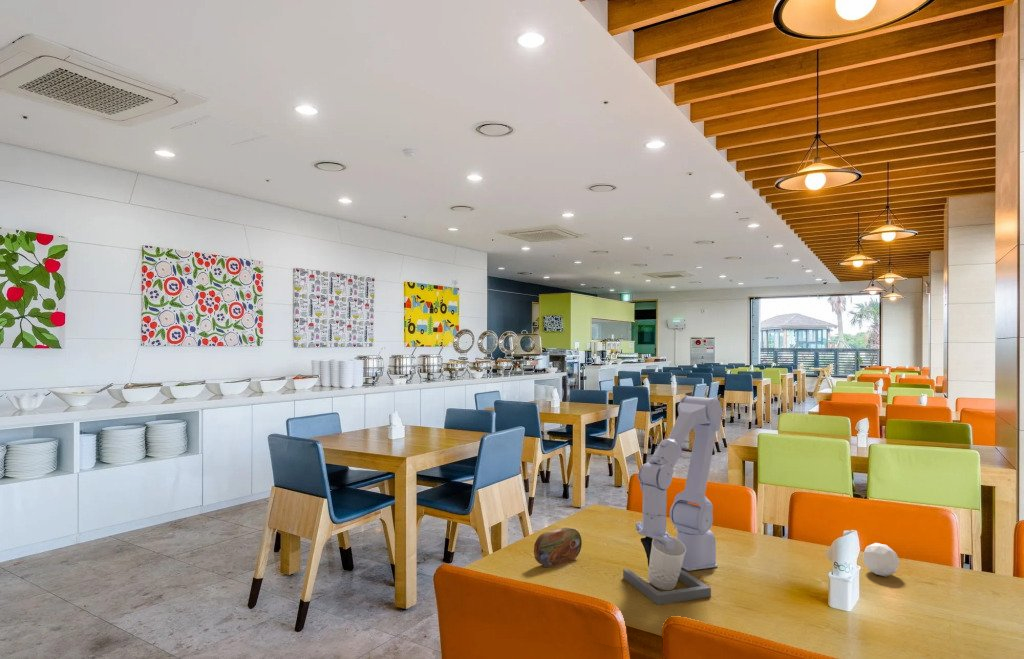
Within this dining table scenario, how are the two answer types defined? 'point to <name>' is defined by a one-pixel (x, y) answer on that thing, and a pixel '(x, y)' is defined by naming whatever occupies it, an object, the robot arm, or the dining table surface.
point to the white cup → (665, 564)
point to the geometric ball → (880, 559)
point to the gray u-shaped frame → (693, 592)
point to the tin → (557, 547)
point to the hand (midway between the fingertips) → (653, 568)
